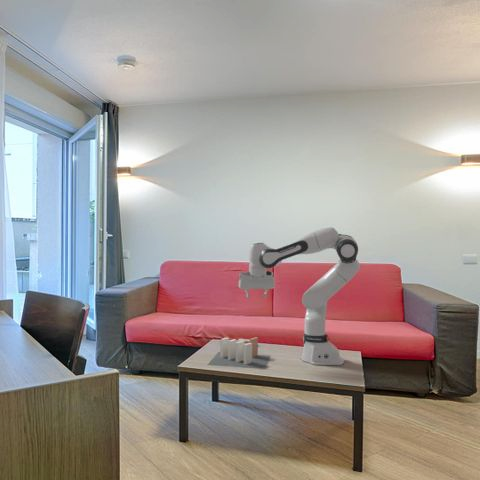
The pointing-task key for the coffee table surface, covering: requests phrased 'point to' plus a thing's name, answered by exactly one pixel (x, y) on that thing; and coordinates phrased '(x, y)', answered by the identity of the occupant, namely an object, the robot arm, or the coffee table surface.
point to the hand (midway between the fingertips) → (256, 297)
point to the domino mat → (241, 362)
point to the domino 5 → (254, 346)
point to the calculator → (243, 340)
